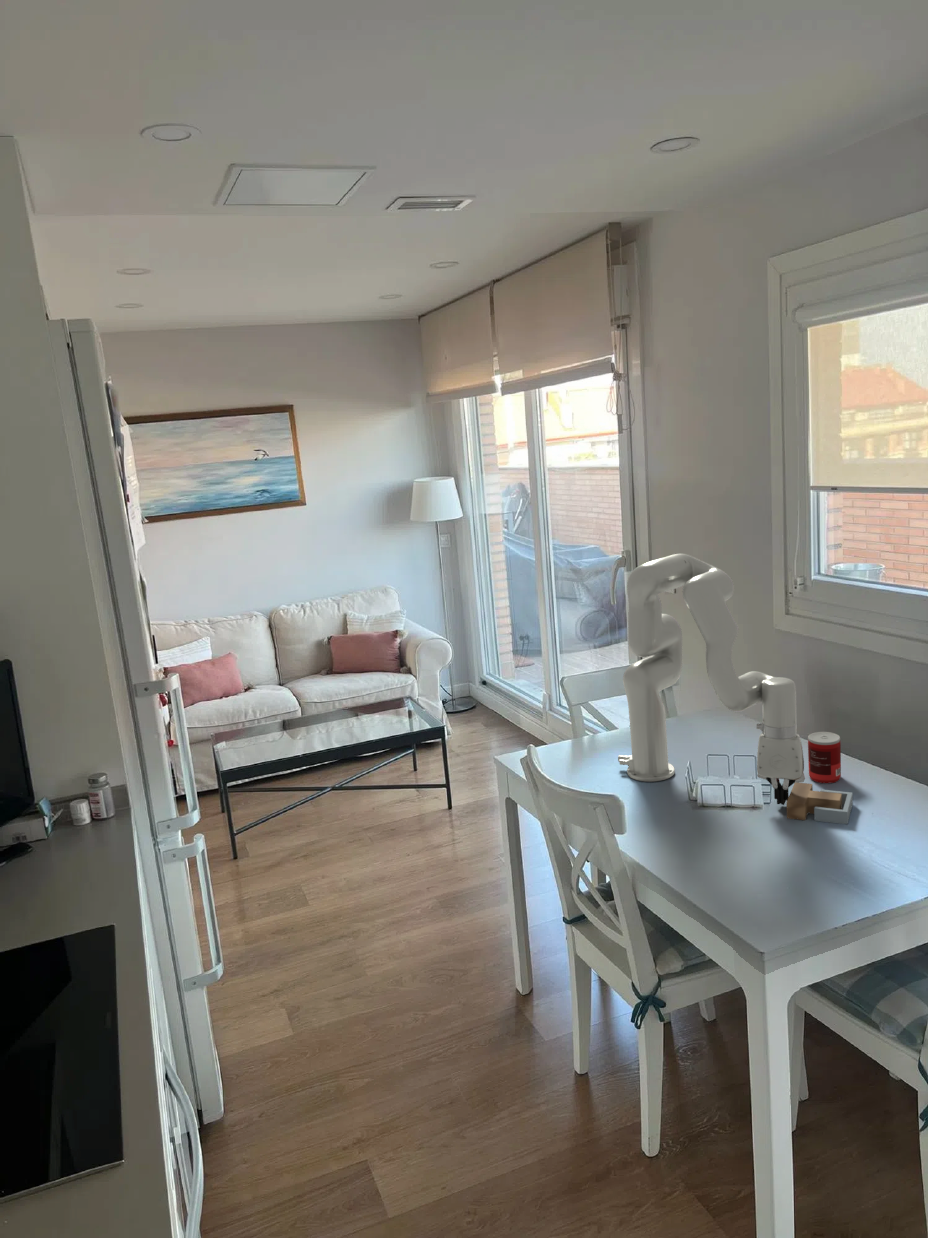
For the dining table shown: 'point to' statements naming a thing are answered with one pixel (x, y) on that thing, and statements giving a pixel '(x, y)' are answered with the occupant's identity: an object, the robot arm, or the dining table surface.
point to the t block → (810, 801)
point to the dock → (835, 810)
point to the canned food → (824, 757)
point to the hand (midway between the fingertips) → (781, 802)
